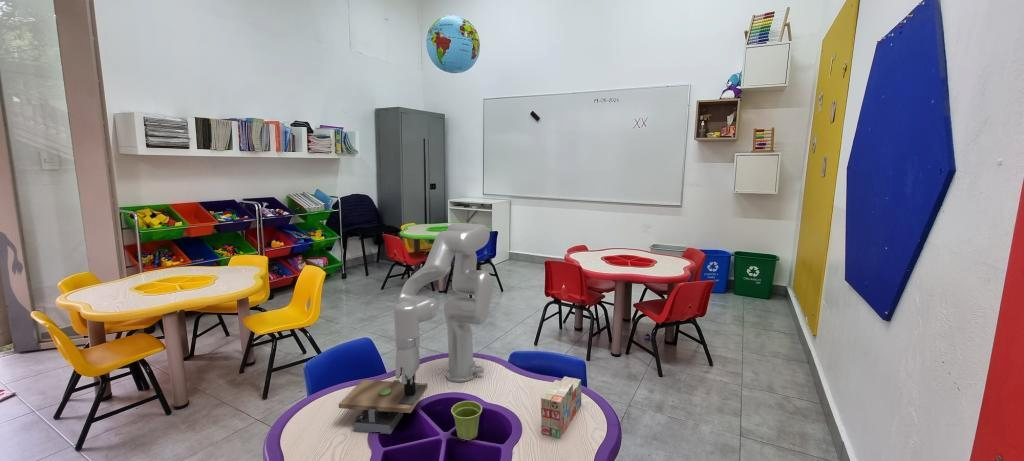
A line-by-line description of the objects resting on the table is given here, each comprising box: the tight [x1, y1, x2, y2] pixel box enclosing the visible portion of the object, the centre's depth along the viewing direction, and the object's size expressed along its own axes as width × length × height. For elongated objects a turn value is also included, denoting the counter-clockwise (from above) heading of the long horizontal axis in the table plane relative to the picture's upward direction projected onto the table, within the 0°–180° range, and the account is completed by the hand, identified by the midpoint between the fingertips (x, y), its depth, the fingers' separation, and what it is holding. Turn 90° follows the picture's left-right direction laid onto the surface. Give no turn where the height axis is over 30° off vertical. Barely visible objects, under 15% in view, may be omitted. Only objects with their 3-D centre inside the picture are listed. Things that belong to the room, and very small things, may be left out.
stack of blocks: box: [540, 376, 582, 440], centre depth 144 cm, size 21×6×12 cm, turn 154°
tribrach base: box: [353, 379, 404, 435], centre depth 149 cm, size 12×21×7 cm, turn 172°
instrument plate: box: [338, 379, 429, 414], centre depth 149 cm, size 24×16×4 cm, turn 82°
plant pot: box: [450, 400, 483, 441], centre depth 137 cm, size 9×9×9 cm
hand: (410, 394), depth 147 cm, fingers closed
